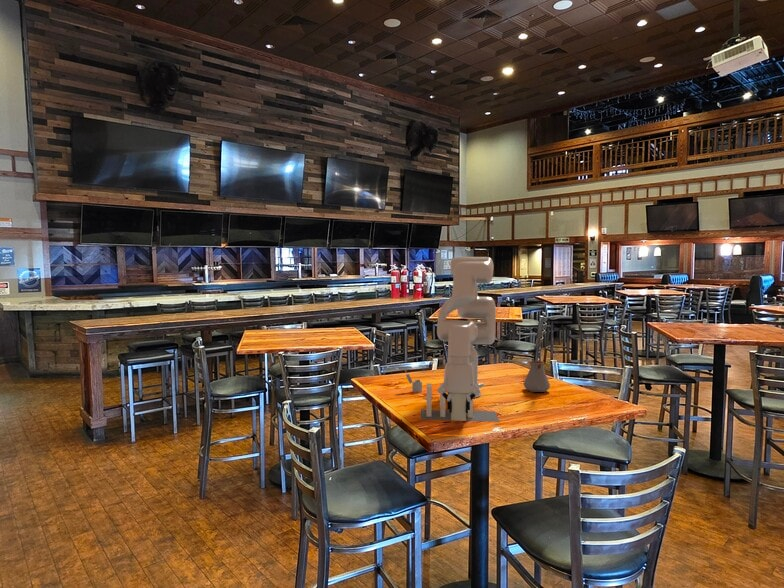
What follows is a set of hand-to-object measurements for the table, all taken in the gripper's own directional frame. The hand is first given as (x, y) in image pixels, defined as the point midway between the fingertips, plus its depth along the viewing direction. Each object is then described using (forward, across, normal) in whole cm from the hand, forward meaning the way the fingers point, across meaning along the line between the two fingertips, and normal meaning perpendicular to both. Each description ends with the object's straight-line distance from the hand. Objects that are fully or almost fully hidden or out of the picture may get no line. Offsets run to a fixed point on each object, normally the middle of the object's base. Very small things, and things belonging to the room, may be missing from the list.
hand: (458, 411), depth 164 cm
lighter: (+6, +16, -44) cm, 47 cm away
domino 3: (+3, 0, 0) cm, 3 cm away
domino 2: (+5, +5, -10) cm, 13 cm away
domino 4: (+5, -5, -10) cm, 12 cm away
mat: (+5, -1, -10) cm, 12 cm away
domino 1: (+5, +10, -10) cm, 15 cm away
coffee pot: (+6, -37, -45) cm, 59 cm away
